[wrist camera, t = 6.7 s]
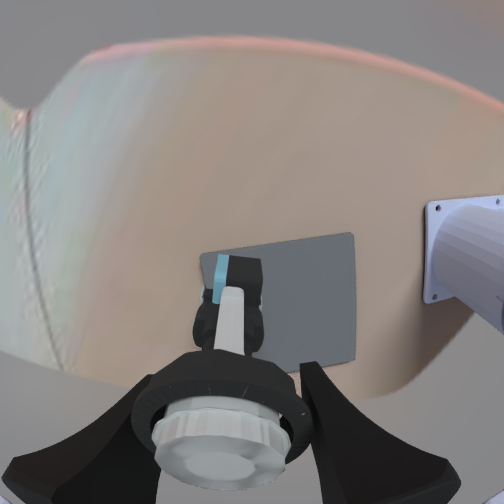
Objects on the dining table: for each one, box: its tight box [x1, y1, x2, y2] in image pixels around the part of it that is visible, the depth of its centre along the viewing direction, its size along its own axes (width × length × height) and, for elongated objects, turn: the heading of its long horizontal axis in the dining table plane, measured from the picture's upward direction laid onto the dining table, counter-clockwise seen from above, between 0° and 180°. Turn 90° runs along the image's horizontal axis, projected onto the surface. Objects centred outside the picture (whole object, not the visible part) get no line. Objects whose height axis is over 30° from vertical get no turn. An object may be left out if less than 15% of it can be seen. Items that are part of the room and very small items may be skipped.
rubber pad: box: [200, 232, 356, 372], centre depth 20 cm, size 10×10×1 cm
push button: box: [131, 254, 314, 491], centre depth 11 cm, size 7×5×10 cm
